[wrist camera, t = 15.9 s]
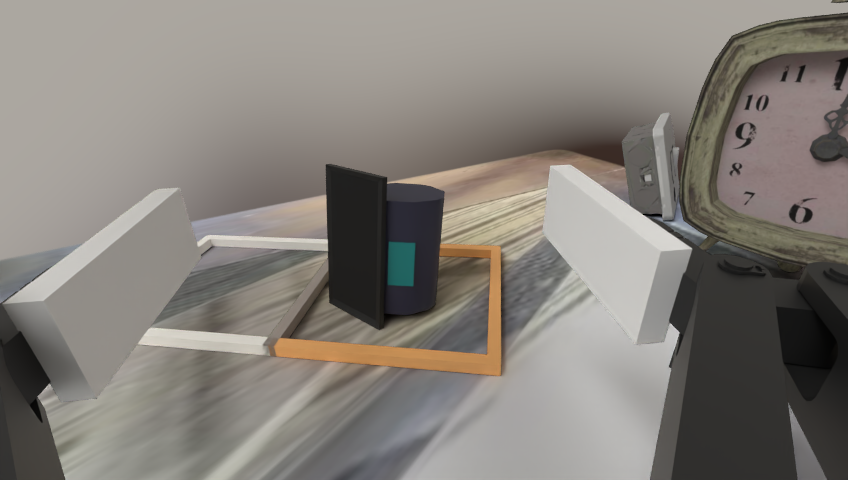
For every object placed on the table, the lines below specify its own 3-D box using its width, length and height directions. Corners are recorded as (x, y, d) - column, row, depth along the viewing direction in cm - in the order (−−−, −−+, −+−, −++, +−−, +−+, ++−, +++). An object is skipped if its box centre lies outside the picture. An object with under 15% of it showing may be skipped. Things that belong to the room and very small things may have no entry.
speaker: (356, 343, 26) (349, 183, 23) (328, 302, 31) (318, 164, 27) (455, 313, 30) (463, 171, 26) (417, 281, 35) (419, 156, 31)
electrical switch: (672, 225, 40) (685, 128, 37) (615, 220, 43) (621, 129, 40) (678, 194, 48) (689, 111, 44) (628, 192, 50) (635, 113, 47)
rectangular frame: (78, 338, 28) (73, 329, 28) (209, 242, 41) (207, 235, 41) (500, 376, 24) (501, 365, 23) (500, 254, 36) (500, 245, 36)
